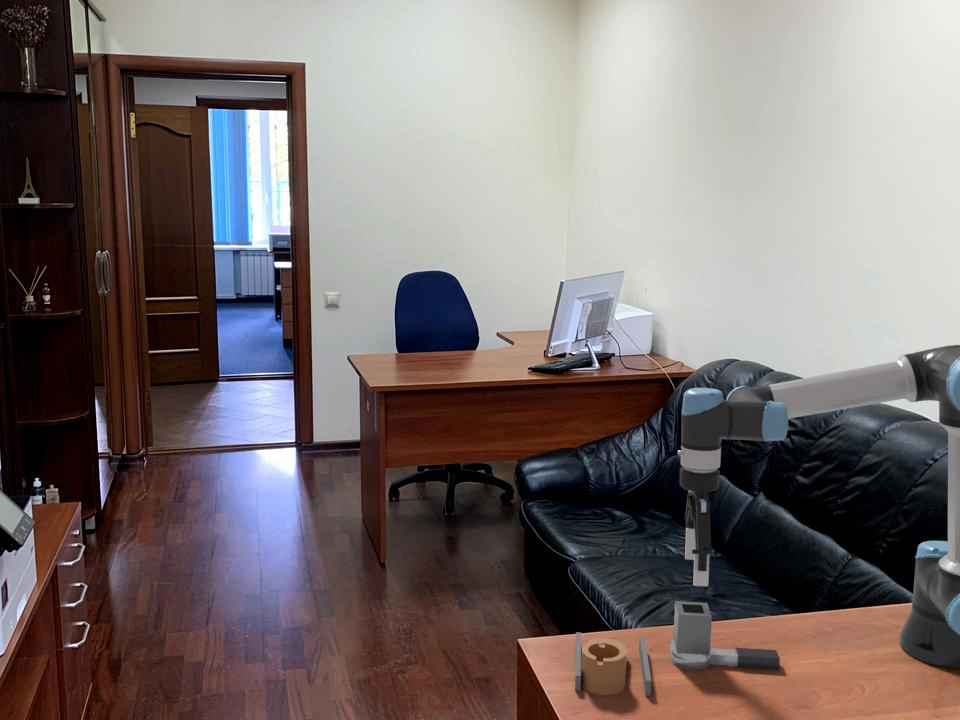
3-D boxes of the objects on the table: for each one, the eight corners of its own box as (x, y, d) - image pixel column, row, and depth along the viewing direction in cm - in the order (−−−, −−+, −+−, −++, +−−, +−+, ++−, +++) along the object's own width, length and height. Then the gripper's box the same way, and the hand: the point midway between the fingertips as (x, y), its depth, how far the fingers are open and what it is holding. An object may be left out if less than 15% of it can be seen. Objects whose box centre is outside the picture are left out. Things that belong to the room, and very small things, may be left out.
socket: (673, 638, 180) (675, 601, 179) (705, 640, 179) (707, 602, 178) (676, 652, 174) (678, 614, 172) (709, 655, 173) (711, 616, 172)
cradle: (643, 650, 181) (644, 636, 180) (650, 695, 163) (651, 680, 163) (575, 645, 182) (576, 632, 182) (575, 690, 165) (575, 675, 164)
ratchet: (772, 656, 179) (775, 623, 178) (781, 676, 171) (783, 642, 170) (668, 649, 181) (669, 617, 180) (672, 668, 173) (673, 635, 172)
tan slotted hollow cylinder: (623, 698, 163) (625, 663, 162) (578, 693, 164) (580, 658, 163) (627, 653, 180) (628, 621, 179) (586, 648, 182) (587, 617, 181)
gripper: (673, 451, 184) (670, 548, 187) (687, 485, 159) (684, 596, 162) (710, 452, 183) (706, 549, 186) (730, 486, 158) (725, 598, 161)
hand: (696, 571), depth 174 cm, fingers open, 13 cm apart
